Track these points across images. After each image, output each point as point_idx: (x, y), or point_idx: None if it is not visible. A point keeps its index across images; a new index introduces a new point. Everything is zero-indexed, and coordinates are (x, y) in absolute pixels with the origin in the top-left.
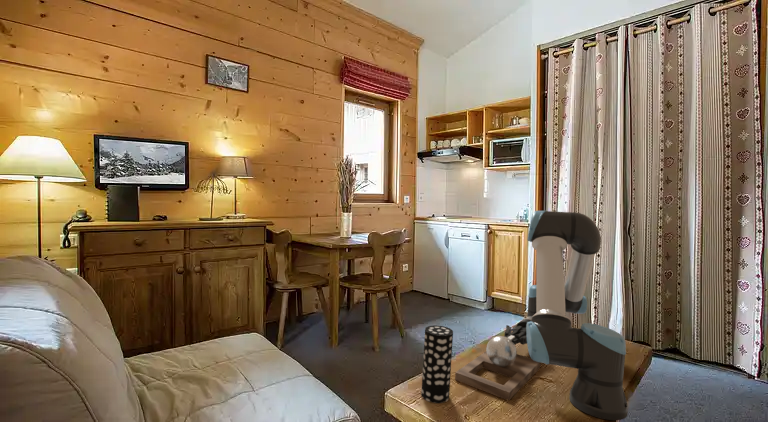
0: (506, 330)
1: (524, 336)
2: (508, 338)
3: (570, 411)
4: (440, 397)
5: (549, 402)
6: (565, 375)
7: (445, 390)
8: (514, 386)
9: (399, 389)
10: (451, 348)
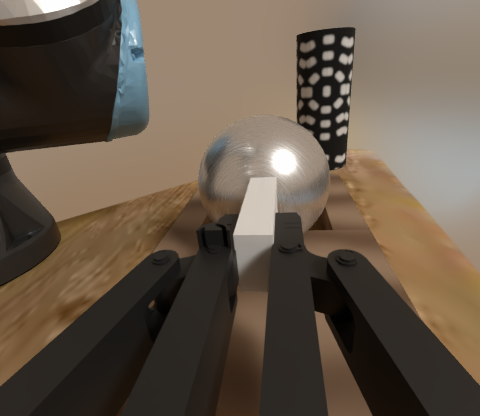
0: (415, 328)
1: (136, 292)
2: (234, 129)
3: (81, 220)
4: None
5: (120, 222)
6: None
7: None
8: (198, 191)
9: (372, 154)
10: (297, 69)
